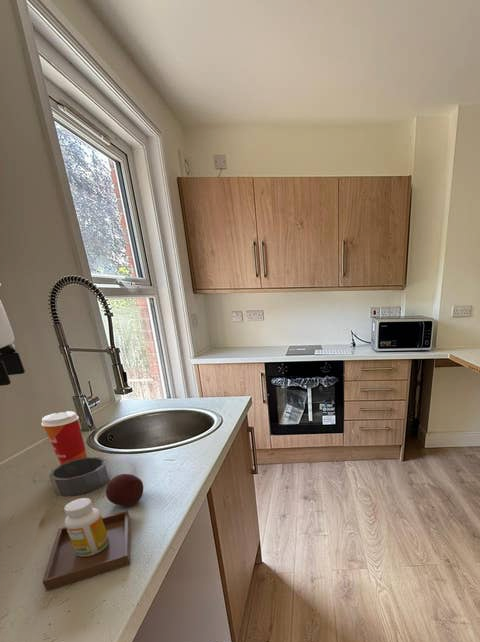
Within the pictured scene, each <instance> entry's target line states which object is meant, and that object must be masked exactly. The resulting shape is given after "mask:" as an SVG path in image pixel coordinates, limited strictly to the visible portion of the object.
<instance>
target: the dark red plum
mask: <svg viewBox="0 0 480 642" xmlns="http://www.w3.org/2000/svg"><path fill="white" fill-rule="evenodd" d="M143 494H144V483H143V480H142V479H140V478H139V477H138V476H136V475H134V474H130V473H122V474H118V475H116V476H114V477H113V478H110V480H109V481H108V482H107V483H106V487H105V496H106V498H107V500H108V501H109V502H110V503H112V504H114V505H116V506H125V507H127V506H133V505H134V504H137V503H138V502H139V501H140V500H141V498H142V497H143Z"/></svg>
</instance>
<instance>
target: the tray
mask: <svg viewBox="0 0 480 642" xmlns="http://www.w3.org/2000/svg"><path fill="white" fill-rule="evenodd" d="M101 517H102V520H103V523H104V526H105V529H106V533H107V535H108V539H109V544H108V545H107V547H106V548H105V549H104V550H102V551H101V552H99V553H97V554H95V555H92V556H88V557H81V556H78V555H77V554H76V552H75V550H74V547H73V544H72V542H71V539H70V537H69V534H68V531H67V529H66V526H64V527H63V526H62V527H60V528H58V529H57V533H56V537H55V540H54V543H53V546H52V549H51V553H50V556H49V559H48V562H47V565H46V566H47V567H46V569H45V572H44V575H43V579H42V585H43V587H44V589H45V591H46V592H47V591H51V590H54V589H56V588H57V589H58V588H60V587H64V586H66V585H69V584H73V583H76V582H79V581H82V580H86V579H88V578H92V577H95V576H98V575H101V574H104V573H107V572H110V571H111V572H112V571H114V570H117V569H120V568H123V567H126V566H127V567H128V566H130V565H131V516H130V512H129V510H125V511H122V512H117V513H114V514H109V515H105V516H101Z"/></svg>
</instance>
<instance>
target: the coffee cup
mask: <svg viewBox="0 0 480 642" xmlns="http://www.w3.org/2000/svg"><path fill="white" fill-rule="evenodd" d="M79 419H80V417H79V415H78V414H77V413H76V412H75V411H71V410H67V411H61V412H60V411H59V412H57V413H56V412H54V413H53V412H52V413H49V414H47V415H44V416H43V417H42V418H41V423H40V425H41V426H42V427H43V428H44V431H45V433H46V435H47V437H48V439H49V443H50V444H51V446H52V449H53V451H54V453H55V455H56V458H57V459H58V462H59V465H61V464H64V463H67V462H70V461H72V460H76V459H81V458H86V457H88V455H87V451H86V446H85V442H84V438H83V433H82V430H81V425H80V421H79Z"/></svg>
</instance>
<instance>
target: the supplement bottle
mask: <svg viewBox="0 0 480 642" xmlns="http://www.w3.org/2000/svg"><path fill="white" fill-rule="evenodd" d="M63 510H64V512H65V515H66V517H65V519H64V527H66V529H67V531H68V534H69V537H70V539H71V542H72V544H73V547H74V550H75V552H76V554H77V555H78V556H81V557H88V556H92V555H95V554H97V553H99V552H101V551H102V550H104V549H105V548H106V547H107V545H108V544H109V539H108V535H107V533H106V529H105V526H104V523H103V520H102V517H103V516H102V515H101V513H100V510H99V509H98V508H96V507H94V506H93V503H92V500H91V499H90V498H88V497H83V498H82V497H81V498H77V499H74V500H72V501H69V502H68V503H67V504H66V505H65V506H64V509H63Z"/></svg>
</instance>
